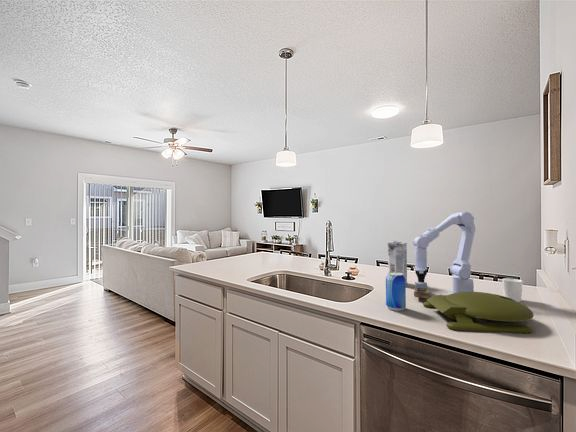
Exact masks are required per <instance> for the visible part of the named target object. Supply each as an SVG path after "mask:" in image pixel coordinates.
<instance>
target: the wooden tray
mask: <svg viewBox="0 0 576 432" xmlns="http://www.w3.org/2000/svg"><path fill="white" fill-rule="evenodd" d="M416 282H417V281H415V282H414V291H413V295H414V297H415V298H421V299H429V298H430V292H429V289H428V288H429V287H428V286H427V289H424V291H422V290H418V288H416Z"/></svg>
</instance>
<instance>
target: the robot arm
mask: <svg viewBox="0 0 576 432" xmlns="http://www.w3.org/2000/svg"><path fill="white" fill-rule="evenodd" d="M452 225H456V226H458V227H459V228H460V230H462V233H461V237H460V241H459V245H458V246H459V247H458V251H457V255H456V258H455V259H454V260H453V261H452V265H450V267H449V273H450V274H451V277H452V290H450V292H451V294H453V293H457V292H475V289H474V279H473V278H471V275H472V270H471V268H472V265H471V263H470V262H469V260H470V256H471V252H472V251H471V250H472V246H473V242H474V237H475V233H476V226H475V217H474V215H473V214H472V213H471V212H468V211H464V212H461V211H460V212H459V211H456V212H453V213H452V214H450V215H449V216H447V218H445V219H444V220H443V221H442V222H440V223H439V224H438V225H437V226H436V227H429V228H427V229H426V231H424V232H423V233H421V234H419V236H416V237H415V238H414V240H413V241H412V244H413V246H414V266H413V267H412V269H415V272H414V273H415V275H416V276H417V282H425V280H426V279H425V278H426V276H427V274H428V271H427V270H428V263H427V262H428V249H427V248H428V247H429V245H430V243H432V242H433V241H435V240H436V239H437V238H439V237H440V233H441V232H443V231H445V230H446V229H448V228H449V227H451V226H452Z"/></svg>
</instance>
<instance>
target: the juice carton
mask: <svg viewBox="0 0 576 432" xmlns="http://www.w3.org/2000/svg"><path fill="white" fill-rule="evenodd" d="M407 244H408V243H407V242H403V241H402V242H401V241H399V242H398V240H392V241H391V242H387V264H388V266H387V268H388V269H387V270H388V272H387V274H388V273H389V272H399V273H403V276H404V277H405V280H406V284H407V283H408V264H407V263H408V258H407V257H408V254H407V253H408V249H407V248H408V247H407Z"/></svg>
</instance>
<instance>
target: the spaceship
mask: <svg viewBox="0 0 576 432" xmlns="http://www.w3.org/2000/svg"><path fill="white" fill-rule="evenodd" d="M422 306H423V307H425V308H430V309H437V310H438V311H440V313H441V314H443V315H444V316H446V317H447V318H449V319H450V320H456V321H449V322H447V323H446V327H447V328H448V329H449V330H452V331H458V332H459V331H461V332H484V333H485V332H486V333H489V332H490V333H507V334H509V333H511V334H532V333H534V330H535V329H534V328H533V327H532V326H530V325H527V324H519V323H518V324H517V323H516V324H515V323H514V324H513V323H511V324H510V323H491V322H490V323H487V322H484V323H483V322H474V321H473V319H475V318H477V319H481V320H482V319H484V320H490V321H498V322H499V321H500V322H525V321H530V320H532V319H533V318H534V313H533V311H532V309H531V308H529V307H528V306H527V305H525V304H524V303H521V302H516V301H515V300H513V299H510V298H507V297H504V295H499V294H495V293H490V292H482V291H474V292H457V293H453V294H452V293H451V294H443V295H442V294H433V295H432V296H429V298H426V301H424V302H423V303H422Z"/></svg>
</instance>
